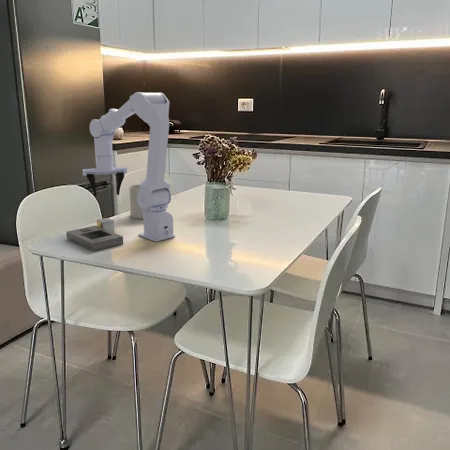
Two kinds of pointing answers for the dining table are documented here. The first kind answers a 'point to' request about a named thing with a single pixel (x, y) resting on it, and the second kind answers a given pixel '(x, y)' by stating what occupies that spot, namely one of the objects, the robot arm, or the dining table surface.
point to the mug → (135, 202)
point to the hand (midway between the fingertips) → (106, 195)
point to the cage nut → (106, 224)
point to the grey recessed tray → (92, 232)
